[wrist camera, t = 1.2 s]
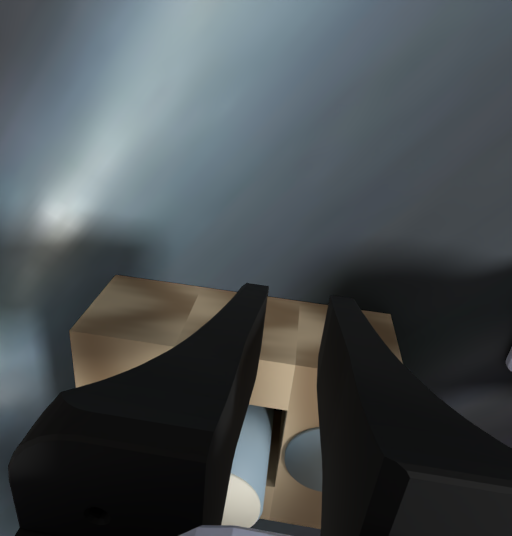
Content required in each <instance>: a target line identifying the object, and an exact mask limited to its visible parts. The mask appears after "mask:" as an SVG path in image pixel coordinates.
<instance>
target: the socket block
mask: <svg viewBox="0 0 512 536" xmlns="http://www.w3.org/2000/svg"><path fill="white" fill-rule="evenodd" d="M236 293H237V292H232V291H225V290H218V289H211V288H205V287H198V286H191V285H184V284H177V283H170V282H163V281H156V280H149V279H142V278H135V277H128V276H121V275H115V276H114V277H113V279H112V280H111V281H110V282H109V283H108V285H107V286H106V287H105V288H104V289H103V291H102V292H101V293H100V294H99V295H98V297H97V298H96V299H95V300H94V301H93V303H92V304H91V305H90V306H89V308H88V309H87V310H86V311H85V312H84V314H83V315H82V316H81V317H80V318H79V320H78V321H77V322H76V323H75V324H74V326H73V327H72V328H71V329H70V330H69V332H70V341H71V350H72V358H73V367H74V376H75V384H76V388H77V387H81V386H84V385H87V384H91V383H94V382H98V381H101V380H104V379H107V378H109V377H112V376H115V375H117V374H120V373H123V372H125V371H128V370H130V369H132V368H135V367H137V366H139V365H141V364H144V363H145V362H147V361H149V360H151V359H153V358H155V357H157V356H159V355H161V354H163V353H165V352H167V351H168V350H170V349H172V348H173V347H175V346H176V345H178V344H179V343H181V342H182V341H184V340H185V339H187V338H188V337H189V336H191V335H192V334H193V333H195V332H196V331H197V330H198V329H200V328H201V327H202V326H203V325H204V324H206V323H207V322H208V321H209V320H210V319H212V318H213V317H214V316H215V315H216V314H217V313H218V312H219V311H220V310H221V309H222V308H223V307H224V306H225V305H226V304H227V303H228V302H229V301H230V300H231V299H232V298H233V297H234V296H235V294H236ZM327 308H328V305H323V304H316V303H309V302H302V301H295V300H288V299H281V298H274V297H267V305H266V313H265V322H264V330H263V338H262V346H261V352H260V358H259V364H258V370H257V376H256V381H255V384H254V388H253V391H252V395H251V398H250V402H249V405H255V406H262V407H268V408H274V409H280V410H282V411H275V410H274V418H273V427H272V436H271V444H270V453H269V461H268V470H267V479H266V487H265V496H264V504H263V511H262V514H261V516H260V519H266V520H272V521H278V522H283V523H289V524H295V525H301V526H306V527H312V528H318V529H321V510H322V455H321V442H320V429H319V416H318V402H317V367H318V354H319V349H320V344H321V339H322V334H323V329H324V324H325V319H326V313H327ZM362 312H363V313H364V315H365V316H366V318H367V319H368V321H369V322H370V324H371V325H372V327H373V328H374V329H375V331H376V332H377V333H378V335H379V336H380V337H381V339H382V340H383V341H384V343H385V344H386V345H387V346H388V348H389V349H390V350H391V351H392V352H393V353H394V355H395V356H396V357H397V358H398V359H399V360H400V361H401V362H402V358H401V354H400V350H399V346H398V342H397V338H396V334H395V330H394V326H393V322H392V318H391V314H386V313H379V312H372V311H365V310H362ZM402 364H403V362H402Z"/></svg>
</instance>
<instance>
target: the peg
mask: <svg viewBox="0 0 512 536" xmlns="http://www.w3.org/2000/svg"><path fill="white" fill-rule="evenodd" d="M273 418H274V409H273V408H268V407H262V406H255V405H248V409H247V412H246V416H245V419H244V422H243V426H242V429H241V433H240V436H239V440H238V443H237V447H236V451H235V455H234V459H233V464H232V469H231V475H230V480H229V485H228V491H227V496H226V502H225V507H224V513H223V518H222V524H221V525H234V526H240V527H246V528H250V527H251V526H252V525H254V524H255V523H256V522H257V521H258V519H259V518H260V516H261V514H262V511H263V504H264V496H265V487H266V479H267V470H268V461H269V453H270V444H271V436H272V427H273Z"/></svg>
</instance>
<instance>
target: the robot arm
mask: <svg viewBox="0 0 512 536" xmlns="http://www.w3.org/2000/svg"><path fill="white" fill-rule="evenodd" d="M268 289H269V286H264V285H257V284H249V283H246V284H245V285H243V286H242V287H241V288H240V290H239V291H238V292H237V293H236V294H235V296H234V297H233V298H232V299H231V300H230V301H229V302H228V303H227V304H226V305H225V306H224V307H223V308H222V309H221V310H220V311H219V312H218V313H217V314H216V315H215V316H214V317H213V318H212V319H210V320H209V321H208V322H207V323H206V324H204V325H203V326H202V327H201V328H200V329H198V330H197V331H196V332H195V333H193V334H192V335H191V336H189V337H188V338H187V339H185V340H184V341H182V342H181V343H179V344H178V345H176V346H175V347H173V348H172V349H170V350H168V351H167V352H165V353H163V354H161V355H159V356H157V357H155V358H153V359H151V360H149V361H147V362H145V363H144V364H141V365H139V366H137V367H135V368H132V369H130V370H128V371H125V372H123V373H120V374H117V375H115V376H112V377H109V378H107V379H104V380H101V381H98V382H94V383H91V384H87V385H84V386H81V387H77V388H74V389H71V390H67V391H63V392H61V393H60V394H59V395H58V396H57V398H56V399H55V400H54V401H53V402H52V403H51V404H50V405H49V406H48V407H47V408H46V410H45V411H44V412H43V413H42V415H41V416H40V417H39V418H38V419H37V421H36V422H35V424H34V425H33V426H32V428H31V429H30V431H29V432H28V433H27V435H26V436H25V438H24V439H23V440H22V442H21V443H20V444H19V446H18V447H17V449H16V450H15V451H14V453H13V455H12V457H11V460H10V463H9V465H8V472H9V483H10V487H11V491H12V496H13V500H14V504H15V508H16V513H17V517H18V521H19V526H20V528H19V530H18V531H17V533H16V535H15V536H291V535H286V534H280V533H274V532H269V531H263V530H257V529H251V528H246V527H240V526H234V525H221V524H222V518H223V513H224V507H225V502H226V496H227V491H228V485H229V480H230V475H231V469H232V464H233V459H234V455H235V451H236V447H237V443H238V440H239V436H240V433H241V429H242V426H243V422H244V419H245V416H246V412H247V409H248V405H249V402H250V398H251V395H252V391H253V388H254V384H255V381H256V376H257V370H258V364H259V358H260V352H261V346H262V338H263V330H264V322H265V313H266V305H267V297H268ZM506 365H507V367H508V369H509V370H510V371H511V372H512V347H511V349H510V352H509V354H508V356H507V359H506ZM317 402H318V416H319V429H320V442H321V455H322V510H321V536H512V448H510V447H508V446H506V445H505V444H503V443H501V442H500V441H498V440H497V439H495V438H494V437H492V436H491V435H489V434H488V433H486V432H484V431H483V430H481V429H480V428H478V427H477V426H475V425H474V424H473V423H471V422H470V421H468V420H467V419H466V418H464V417H463V416H461V415H460V414H459V413H457V412H456V411H455V410H454V409H452V408H451V407H450V406H448V405H447V404H446V403H445V402H443V401H442V400H441V399H440V398H438V397H437V396H436V395H435V394H434V393H433V392H431V391H430V390H429V389H428V388H427V387H426V386H425V385H424V384H423V383H422V382H420V381H419V380H418V379H417V378H416V377H415V376H414V375H413V374H412V373H411V372H410V371H409V370H408V369H407V368H406V367H405V366H404V365H403V364H402V362H401V361H400V360H399V359H398V358H397V357H396V356H395V355H394V353H393V352H392V351H391V350H390V349H389V348H388V346H387V345H386V344H385V343H384V341H383V340H382V339H381V337H380V336H379V335H378V333H377V332H376V331H375V329H374V328H373V327H372V325H371V324H370V322H369V321H368V319H367V318H366V316H365V315H364V313H363V312H362V310H361V309H360V307H359V306H358V304H357V303H356V302H355V300H354V299H353V298H348V297H341V296H334V295H330V298H329V303H328V308H327V313H326V319H325V324H324V329H323V334H322V339H321V344H320V349H319V354H318V367H317Z"/></svg>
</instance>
